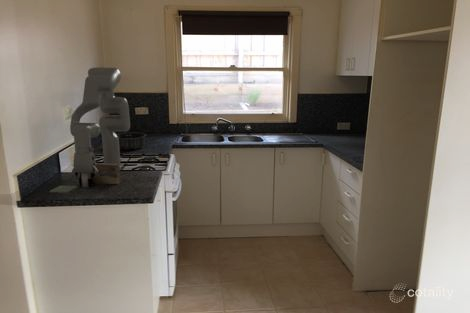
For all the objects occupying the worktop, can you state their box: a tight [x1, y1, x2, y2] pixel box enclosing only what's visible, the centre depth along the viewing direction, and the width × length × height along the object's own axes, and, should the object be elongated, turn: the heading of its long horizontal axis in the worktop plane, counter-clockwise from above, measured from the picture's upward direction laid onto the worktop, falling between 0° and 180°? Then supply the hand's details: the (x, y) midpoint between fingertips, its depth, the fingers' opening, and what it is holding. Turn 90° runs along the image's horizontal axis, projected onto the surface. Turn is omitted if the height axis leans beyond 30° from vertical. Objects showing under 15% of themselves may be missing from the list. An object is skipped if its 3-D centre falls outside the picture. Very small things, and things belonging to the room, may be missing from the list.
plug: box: [81, 173, 90, 188], centre depth 183 cm, size 4×4×7 cm
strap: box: [100, 168, 115, 176], centre depth 180 cm, size 11×2×1 cm, turn 173°
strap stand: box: [93, 162, 121, 185], centre depth 189 cm, size 3×18×10 cm, turn 83°
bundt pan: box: [116, 132, 147, 151], centre depth 279 cm, size 26×26×10 cm
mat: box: [49, 185, 78, 194], centre depth 178 cm, size 9×9×1 cm
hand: (86, 185), depth 184 cm, fingers closed on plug, 4 cm apart
